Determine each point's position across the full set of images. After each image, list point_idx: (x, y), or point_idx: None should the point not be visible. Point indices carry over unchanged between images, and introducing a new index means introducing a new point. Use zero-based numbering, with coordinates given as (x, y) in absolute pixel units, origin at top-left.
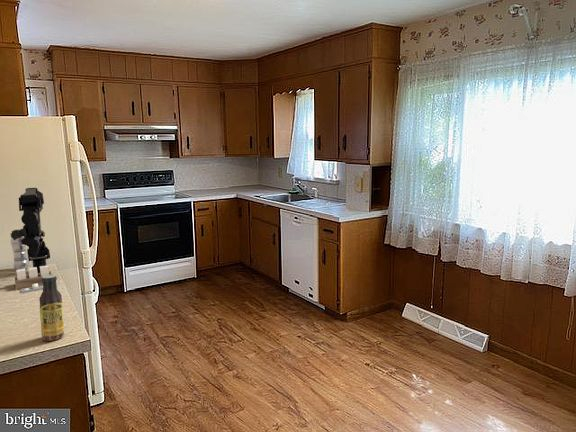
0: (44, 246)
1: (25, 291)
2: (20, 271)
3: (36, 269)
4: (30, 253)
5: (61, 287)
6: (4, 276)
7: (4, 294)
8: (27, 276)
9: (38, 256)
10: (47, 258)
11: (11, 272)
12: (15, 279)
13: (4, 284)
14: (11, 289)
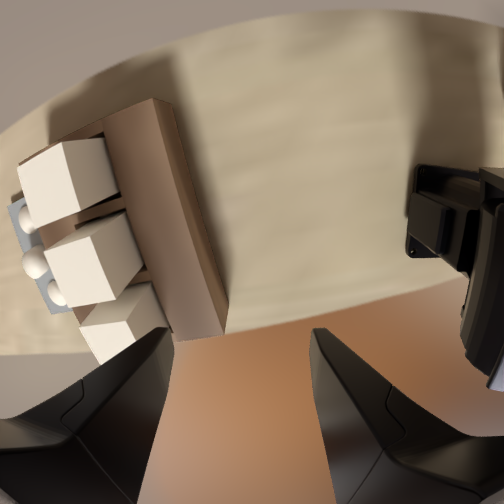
0: (500, 390)
1: (13, 221)
2: (26, 194)
3: (70, 301)
4: (497, 221)
5: (64, 351)
6: (423, 12)
7: (12, 125)
8: (123, 201)
9: (473, 271)
10: (462, 311)
11: (491, 53)
12: (73, 136)
13: (206, 31)
14: (72, 121)
